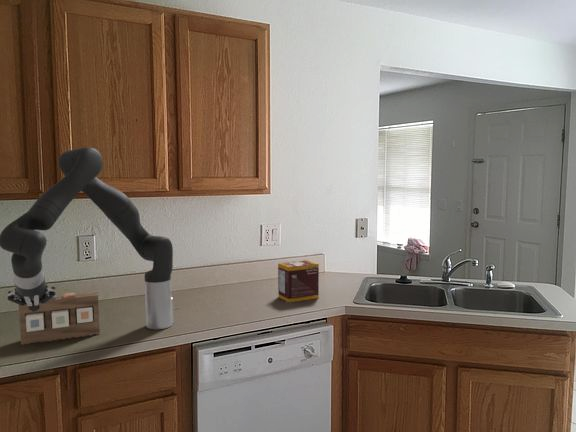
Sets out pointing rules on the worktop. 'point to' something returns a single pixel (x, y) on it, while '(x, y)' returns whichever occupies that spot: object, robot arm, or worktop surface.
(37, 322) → the slate key
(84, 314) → the terracotta key
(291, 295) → the supplement box
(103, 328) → the worktop surface
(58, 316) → the sage key
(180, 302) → the worktop surface
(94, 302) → the keypad panel
